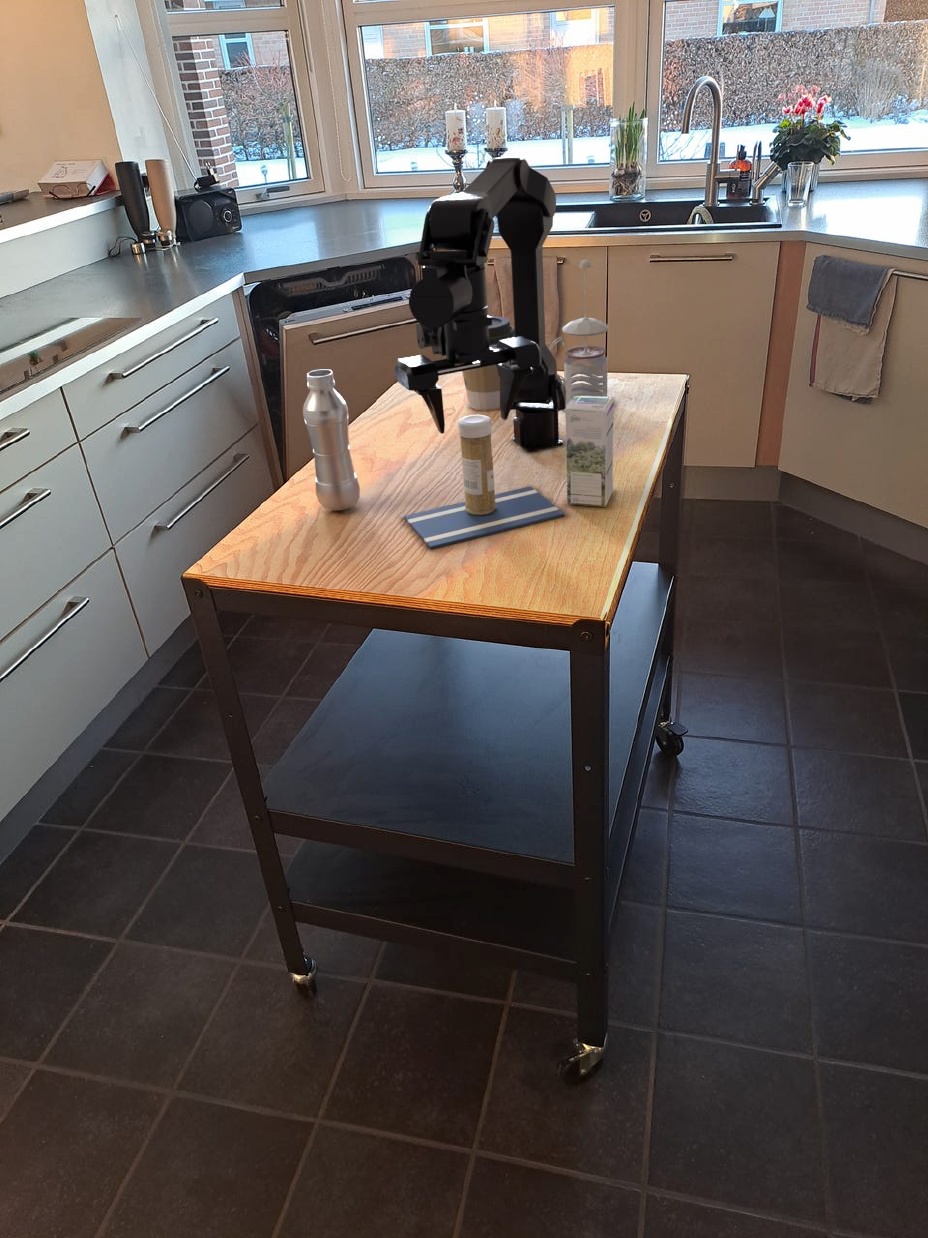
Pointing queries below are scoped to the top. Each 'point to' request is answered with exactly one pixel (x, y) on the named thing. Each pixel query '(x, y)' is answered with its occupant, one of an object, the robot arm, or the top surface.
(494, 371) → the coffee cup
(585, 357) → the french press
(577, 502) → the syrup box
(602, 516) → the top surface
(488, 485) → the sprinkles bottle
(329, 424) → the silver water bottle
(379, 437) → the top surface
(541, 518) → the tea towel
